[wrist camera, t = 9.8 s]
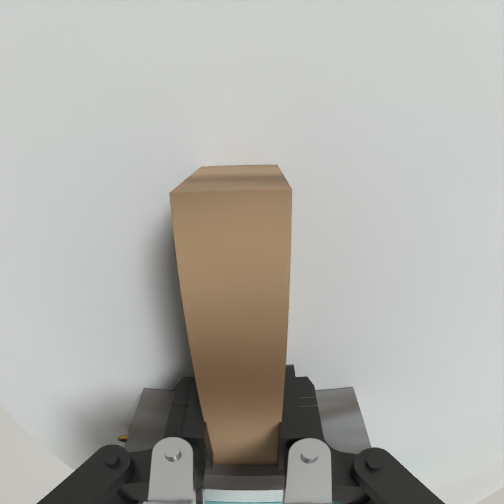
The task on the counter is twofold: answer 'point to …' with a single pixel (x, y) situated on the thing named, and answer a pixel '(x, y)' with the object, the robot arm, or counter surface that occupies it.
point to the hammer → (239, 326)
